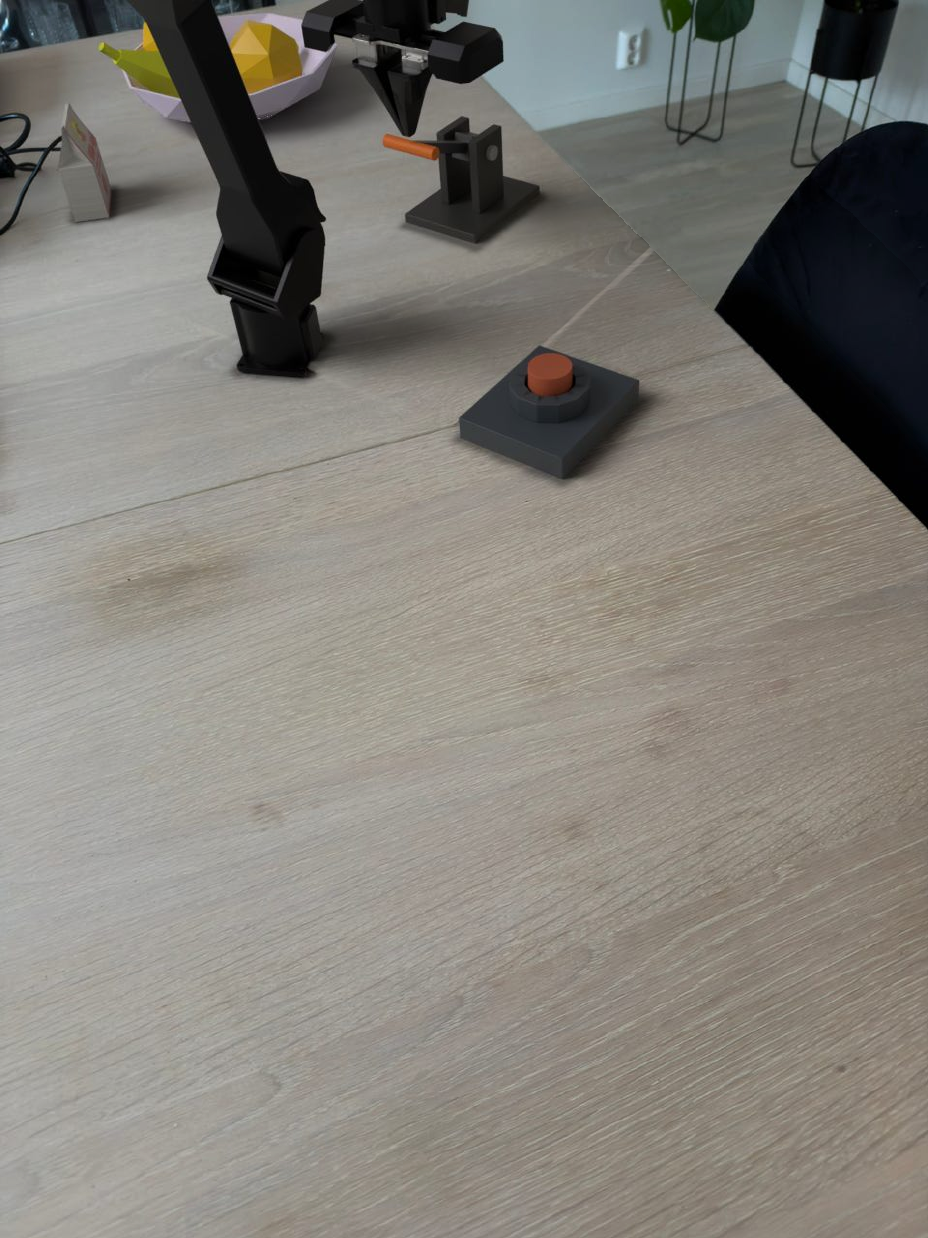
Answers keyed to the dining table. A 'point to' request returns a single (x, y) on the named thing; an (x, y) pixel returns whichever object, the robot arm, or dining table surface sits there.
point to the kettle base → (472, 188)
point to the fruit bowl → (261, 55)
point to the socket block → (549, 416)
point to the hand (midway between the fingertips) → (409, 134)
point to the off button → (550, 374)
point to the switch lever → (432, 146)
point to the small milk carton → (83, 170)
